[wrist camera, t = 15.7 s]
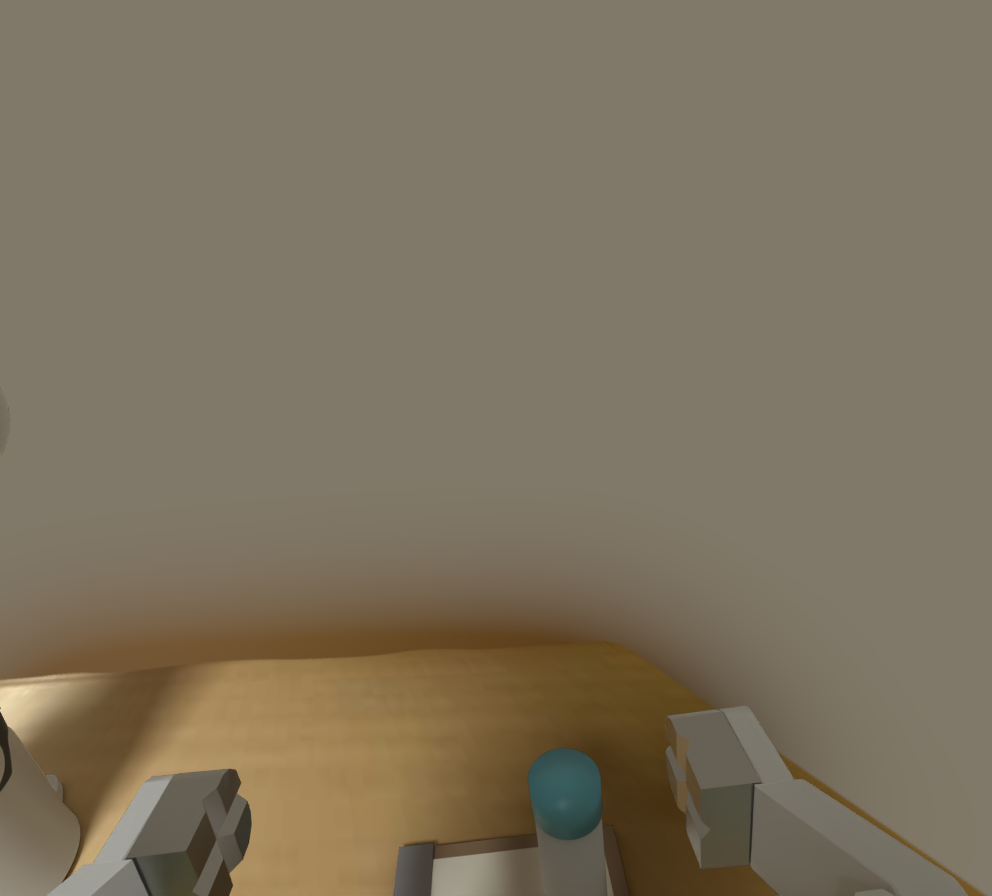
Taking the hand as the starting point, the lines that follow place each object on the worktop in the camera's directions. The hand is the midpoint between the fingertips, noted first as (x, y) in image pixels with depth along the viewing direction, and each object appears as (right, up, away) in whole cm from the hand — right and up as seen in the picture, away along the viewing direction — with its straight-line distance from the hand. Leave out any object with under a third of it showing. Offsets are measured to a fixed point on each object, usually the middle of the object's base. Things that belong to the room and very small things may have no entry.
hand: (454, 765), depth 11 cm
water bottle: (+6, -23, +23) cm, 33 cm away
